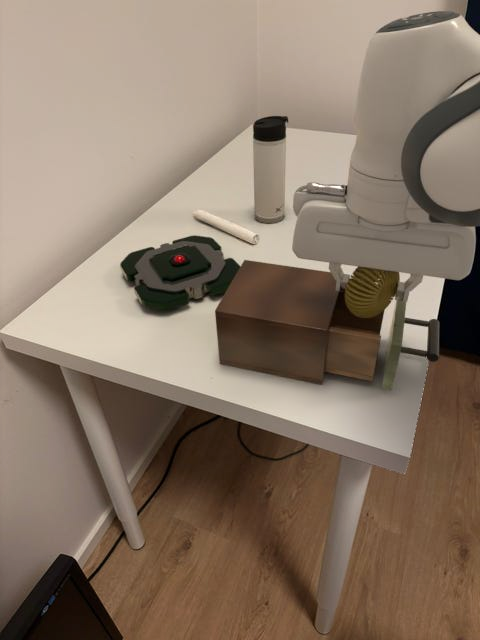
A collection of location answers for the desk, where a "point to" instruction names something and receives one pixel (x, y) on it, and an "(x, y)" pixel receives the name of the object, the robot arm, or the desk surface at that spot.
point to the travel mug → (269, 168)
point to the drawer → (372, 342)
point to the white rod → (227, 226)
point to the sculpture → (370, 291)
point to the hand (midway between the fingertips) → (371, 293)
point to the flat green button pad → (179, 272)
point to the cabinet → (277, 320)
